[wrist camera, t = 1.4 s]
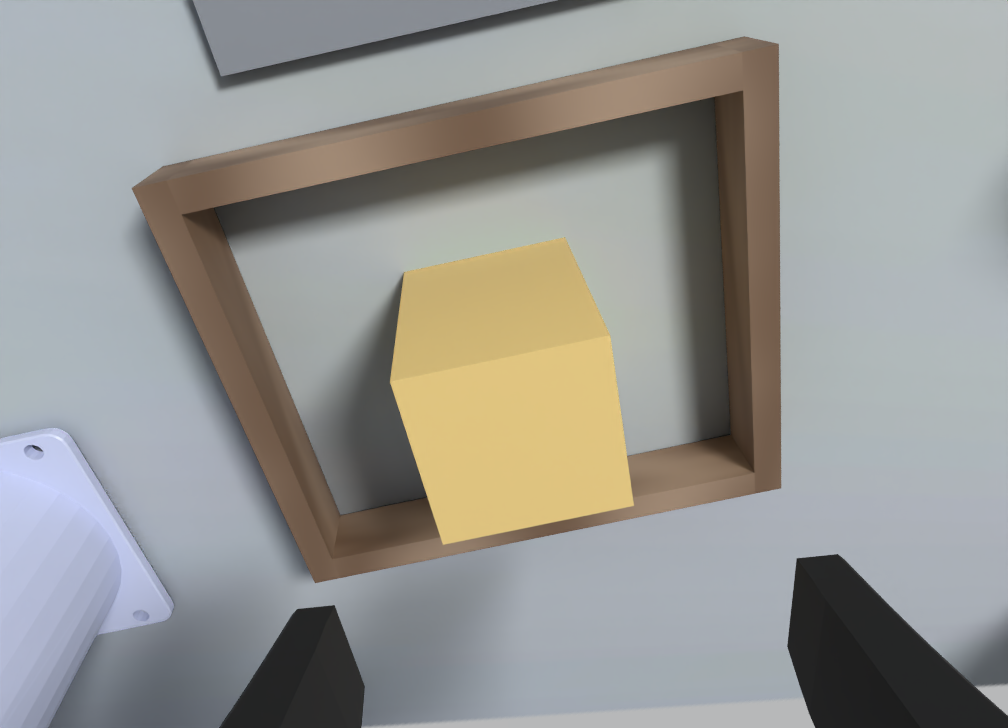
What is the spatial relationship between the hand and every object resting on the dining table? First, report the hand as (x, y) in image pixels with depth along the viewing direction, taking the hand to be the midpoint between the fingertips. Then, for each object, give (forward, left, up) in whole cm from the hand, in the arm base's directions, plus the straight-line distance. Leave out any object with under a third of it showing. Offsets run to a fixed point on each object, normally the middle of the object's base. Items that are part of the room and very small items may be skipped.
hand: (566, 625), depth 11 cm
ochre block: (0, 0, -11) cm, 11 cm away
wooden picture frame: (0, 0, -11) cm, 11 cm away
